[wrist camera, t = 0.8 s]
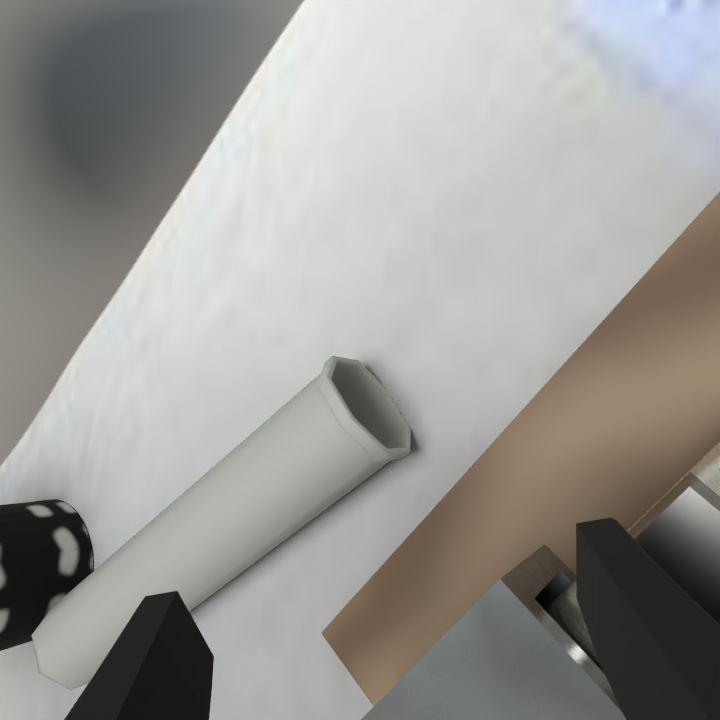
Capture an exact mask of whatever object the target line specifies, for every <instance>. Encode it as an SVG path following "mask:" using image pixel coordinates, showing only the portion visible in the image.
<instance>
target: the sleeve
mask: <svg viewBox="0 0 720 720" xmlns="http://www.w3.org/2000/svg"><path fill="white" fill-rule="evenodd" d="M575 581H576V575H575V574H574V573H573V572H572V571H571V570H570V569H569V568H568V567H567V566H566V565H565V564H564V563H563V562H562V561H561V560H560V559H559V558H558V557H557V556H556V555H555V554H554V553H553V552H552V551H551V550H550V549H549V548H548V547H547V546H546V545H545V544H544V545H543V546H542V547H540V548H539V549H538V550H536V551H535V552H534V553H533V554H531V555H530V556H529V557H527V558H526V559H525V560H524V561H522V562H521V563H520V564H518V565H517V566H516V567H515V568H513V569H512V570H511V571H509V572H508V573H507V574H506V575H504V576H503V577H502V578H501V579H499V580H498V581H497V582H496V583H495V584H494V585H493V586H492V587H491V589H490V590H489V591H488V592H487V593H486V594H485V595H484V596H483V597H482V598H481V599H480V600H479V601H478V602H477V603H476V604H475V605H474V606H473V607H472V608H471V609H470V610H469V611H468V612H467V613H466V614H465V615H464V616H463V617H462V618H461V619H460V620H459V621H458V622H457V623H456V624H455V625H454V626H453V627H452V628H451V629H450V630H449V631H448V632H447V633H446V634H445V635H444V636H443V637H442V638H441V639H440V640H439V641H438V642H437V643H436V644H435V645H434V646H433V647H432V648H431V649H430V650H429V651H428V652H427V653H426V654H425V655H424V656H423V657H422V658H421V659H420V660H419V662H418V663H417V664H416V665H415V666H414V667H413V668H412V669H411V670H410V671H409V672H408V673H407V674H406V675H405V676H404V677H403V678H402V679H401V680H400V681H399V682H398V683H397V684H396V685H395V686H394V687H393V688H392V689H391V690H390V691H389V692H388V693H387V694H386V695H385V696H384V697H383V698H382V699H381V700H380V701H379V702H378V703H377V704H376V705H375V706H374V707H373V708H372V709H371V710H370V711H369V712H368V713H367V714H366V715H365V716H364V717H363V718H362V719H361V720H626V718H625V716H624V714H623V712H622V710H621V708H620V706H619V703H618V701H617V699H616V697H615V695H614V693H613V691H612V688H611V686H610V684H609V682H608V680H607V678H606V675H605V674H604V673H603V672H602V671H601V670H600V669H599V668H598V667H597V665H596V664H595V663H594V662H593V661H592V660H591V659H590V658H589V657H588V656H587V655H586V654H585V653H584V652H583V650H582V649H581V648H580V647H579V646H578V645H577V644H576V643H575V642H574V641H573V640H572V639H571V638H570V636H569V635H568V634H567V633H566V632H565V631H564V630H563V629H562V628H561V627H560V626H559V625H558V624H557V623H556V621H555V620H554V619H553V618H552V617H551V616H550V615H549V614H548V613H547V612H546V611H545V610H546V609H547V608H548V607H549V606H550V605H551V604H552V603H553V602H554V601H555V600H556V599H557V598H558V597H559V596H560V595H561V594H562V593H563V592H564V591H565V590H566V589H567V588H568V587H569V586H570V585H571V584H572V583H573V582H575Z"/></svg>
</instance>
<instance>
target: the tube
mask: <svg viewBox="0 0 720 720" xmlns="http://www.w3.org/2000/svg"><path fill="white" fill-rule="evenodd" d="M410 449H411V428H410V426H409V425H408V423H407V422H406V420H405V418H404V417H403V415H402V414H401V412H400V410H399V409H398V407H397V406H396V404H395V402H394V401H393V399H392V398H391V396H390V395H389V393H388V391H387V390H386V388H385V387H384V386H383V385H382V384H381V383H380V382H379V381H378V380H377V379H376V378H375V377H374V376H373V375H372V374H371V373H370V372H369V371H368V370H367V369H366V368H365V367H364V366H363V365H362V364H361V363H360V362H359V361H358V360H353V359H347V358H341V357H336V356H332V357H331V358H330V359H329V360H328V361H327V362H325V364H324V367H323V370H322V372H321V374H320V375H319V376H317V377H316V378H315V379H314V380H313V381H312V382H310V383H309V384H308V385H307V386H306V387H305V388H304V389H302V390H301V391H300V392H299V393H298V394H297V395H296V396H294V397H293V398H292V399H291V400H290V401H289V402H287V403H286V404H285V405H284V406H283V407H282V408H281V409H279V410H278V411H277V412H276V413H275V414H274V415H273V416H271V417H270V418H269V419H268V420H267V421H266V422H265V423H263V424H262V425H261V426H260V427H259V428H258V429H256V430H255V431H254V432H253V433H252V434H251V435H250V436H248V437H247V438H246V439H245V440H244V441H243V442H242V443H240V444H239V445H238V446H237V447H236V448H235V449H233V450H232V451H231V452H230V453H229V454H228V455H227V456H225V457H224V458H223V459H222V460H221V461H220V462H219V463H217V464H216V465H215V466H214V467H213V468H212V469H210V470H209V471H208V472H207V473H206V474H205V475H204V476H202V477H201V478H200V479H199V480H198V481H197V482H196V483H194V484H193V485H192V486H191V487H190V488H189V489H187V490H186V491H185V492H184V493H183V494H182V495H181V496H179V497H178V498H177V499H176V500H175V501H174V502H173V503H171V504H170V505H169V506H168V507H167V508H166V509H165V510H163V511H162V512H161V513H160V514H159V515H158V516H156V517H155V518H154V519H153V520H152V521H151V522H150V523H148V524H147V525H146V526H145V527H144V528H143V529H142V530H140V531H139V532H138V533H137V534H136V535H135V536H133V537H132V538H131V539H130V540H129V541H128V542H127V543H125V544H124V545H123V546H122V547H121V548H120V549H119V550H117V551H116V552H115V553H114V554H113V555H112V556H110V557H109V558H108V559H107V560H106V561H105V562H104V563H102V564H101V565H100V566H99V567H98V568H97V569H96V570H94V571H93V572H92V573H91V574H90V575H89V576H87V577H86V578H85V579H84V580H83V581H82V582H81V583H79V584H78V585H77V586H76V587H75V588H74V589H73V590H71V591H70V592H69V593H68V594H67V595H66V596H65V597H63V598H62V599H61V600H60V601H59V602H58V603H56V604H55V605H54V606H53V607H52V608H51V609H50V611H49V612H48V613H47V615H46V616H45V618H44V619H43V620H42V622H41V623H40V624H39V626H38V627H37V628H36V630H35V631H34V633H33V634H32V635H31V636H32V639H33V642H34V645H35V652H36V659H37V666H38V673H39V674H41V675H43V676H45V677H47V678H49V679H51V680H53V681H54V682H56V683H58V684H60V685H62V686H64V687H66V688H68V689H70V690H73V689H75V688H78V687H80V686H82V685H85V684H87V683H89V682H90V681H91V679H92V678H93V676H94V674H95V673H96V671H97V670H98V668H99V667H100V665H101V664H102V662H103V660H104V659H105V657H106V656H107V654H108V653H109V651H110V650H111V648H112V646H113V645H114V643H115V642H116V640H117V639H118V637H119V636H120V634H121V632H122V631H123V629H124V628H125V626H126V625H127V623H128V621H129V620H130V618H131V617H132V615H133V614H134V612H135V611H136V609H137V608H138V606H139V605H140V603H141V602H142V600H143V599H144V597H145V596H149V595H155V594H161V593H167V592H173V591H178V593H179V595H180V596H181V598H182V600H183V602H184V604H185V605H186V607H187V609H188V611H191V610H192V609H193V608H195V607H196V606H197V605H199V604H200V603H201V602H203V601H204V600H205V599H207V598H208V597H209V596H211V595H212V594H213V593H215V592H216V591H217V590H219V589H220V588H221V587H223V586H224V585H225V584H227V583H228V582H229V581H231V580H232V579H233V578H235V577H236V576H237V575H239V574H240V573H241V572H243V571H244V570H245V569H247V568H248V567H249V566H251V565H252V564H253V563H255V562H256V561H257V560H259V559H260V558H261V557H263V556H264V555H265V554H267V553H268V552H269V551H271V550H272V549H273V548H275V547H276V546H277V545H279V544H280V543H281V542H283V541H284V540H285V539H287V538H288V537H289V536H291V535H292V534H293V533H295V532H296V531H297V530H299V529H300V528H301V527H303V526H304V525H305V524H307V523H308V522H309V521H311V520H312V519H313V518H315V517H316V516H317V515H319V514H320V513H321V512H323V511H324V510H325V509H327V508H328V507H329V506H331V505H332V504H333V503H335V502H336V501H337V500H339V499H340V498H341V497H343V496H344V495H345V494H347V493H348V492H349V491H351V490H352V489H353V488H355V487H356V486H357V485H359V484H360V483H361V482H363V481H364V480H365V479H367V478H368V477H369V476H371V475H372V474H373V473H375V472H376V471H377V470H379V469H380V468H381V467H383V466H384V465H385V464H387V463H388V462H389V461H391V460H396V459H402V458H404V457H405V456H407V455H408V454H409V453H410Z"/></svg>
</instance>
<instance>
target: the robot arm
mask: <svg viewBox="0 0 720 720" xmlns="http://www.w3.org/2000/svg"><path fill="white" fill-rule="evenodd" d="M576 596H577V601H578V604H579V607H580V610H581V613H582V616H583V619H584V621H585V624H586V627H587V630H588V633H589V636H590V639H591V641H592V644H593V647H594V650H595V652H596V655H597V658H598V660H599V662H600V665H601V667H602V669H603V671H604V673H605V675H606V678H607V680H608V682H609V684H610V686H611V688H612V691H613V693H614V695H615V697H616V699H617V701H618V703H619V706H620V708H621V710H622V712H623V714H624V716H625V718H626V720H720V624H719V623H718V622H717V621H716V620H715V619H714V618H713V617H712V616H711V615H710V614H708V613H707V612H706V611H705V610H704V609H703V608H702V607H701V606H700V605H699V604H698V603H697V602H696V601H695V600H694V599H692V598H691V597H690V596H689V595H688V594H687V593H686V592H685V591H684V590H683V589H682V588H681V587H680V586H679V585H678V584H677V583H676V582H675V581H674V580H673V579H672V578H671V577H670V576H669V575H668V574H667V573H666V572H665V571H664V570H663V569H662V568H661V567H660V566H659V565H658V564H657V563H656V562H655V561H654V560H653V559H652V558H651V557H650V555H649V554H648V553H647V552H646V551H645V550H644V549H643V548H642V547H641V546H640V545H639V544H638V543H637V542H636V541H635V540H634V539H633V537H632V536H631V535H630V534H629V533H628V532H627V531H626V530H625V529H624V528H623V527H622V525H621V524H620V523H619V522H618V521H617V520H615V519H613V518H612V517H611V518H605V519H599V520H593V521H587V522H581V523H576ZM213 660H214V656H213V654H212V653H211V651H210V649H209V647H208V645H207V643H206V642H205V640H204V638H203V636H202V634H201V633H200V631H199V629H198V627H197V625H196V624H195V622H194V620H193V618H192V616H191V614H190V613H189V611H188V609H187V607H186V605H185V604H184V602H183V600H182V598H181V596H180V595H179V593H178V591H173V592H167V593H161V594H155V595H149V596H145V597H144V599H143V600H142V602H141V603H140V605H139V606H138V608H137V609H136V611H135V612H134V614H133V615H132V617H131V618H130V620H129V621H128V623H127V625H126V626H125V628H124V629H123V631H122V632H121V634H120V636H119V637H118V639H117V640H116V642H115V643H114V645H113V646H112V648H111V650H110V651H109V653H108V654H107V656H106V657H105V659H104V660H103V662H102V664H101V665H100V667H99V668H98V670H97V671H96V673H95V674H94V676H93V678H92V679H91V681H90V682H89V684H88V685H87V687H86V688H85V690H84V691H83V693H82V694H81V696H80V697H79V699H78V700H77V702H76V703H75V705H74V706H73V708H72V709H71V711H70V712H69V714H68V715H67V716H66V718H65V719H64V720H209V712H210V701H211V690H212V675H213Z"/></svg>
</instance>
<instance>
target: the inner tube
mask: <svg viewBox="0 0 720 720" xmlns="http://www.w3.org/2000/svg"><path fill="white" fill-rule="evenodd" d="M627 532H628V533H629V534H630V535H631V536H632V537H633V539H634V540H635V541H636V542H637V543H638V544H639V545H640V546H641V547H642V548H643V549H644V550H645V551H646V552H647V553H648V554H649V555H650V557H651V558H652V559H653V560H654V561H655V562H656V563H657V564H658V565H659V566H660V567H661V568H662V569H663V570H664V571H665V572H666V573H667V574H668V575H669V576H670V577H671V578H672V579H673V580H674V581H675V582H676V583H677V584H678V585H679V586H680V587H681V588H682V589H683V590H684V591H685V592H686V593H687V594H688V595H689V596H690V597H691V598H692V599H694V600H695V601H696V602H697V603H698V604H699V605H700V606H701V607H702V608H703V609H704V610H705V611H706V612H707V613H708V614H710V615H711V616H712V617H713V618H714V619H715V620H716V621H717V622H718V623H719V624H720V442H718V443H717V444H716V445H715V446H714V447H713V448H712V449H711V450H710V451H709V452H708V453H707V454H706V455H705V456H704V457H703V458H702V459H701V460H700V461H699V462H698V463H697V464H696V465H695V466H694V467H693V468H692V469H691V470H689V471H688V472H687V473H686V474H685V475H684V476H683V477H682V478H681V479H680V480H679V481H678V482H677V483H676V484H675V485H674V486H673V487H672V488H671V489H670V490H669V491H668V492H667V493H666V494H665V495H664V496H663V497H662V498H660V499H659V500H658V501H657V502H656V503H655V504H654V505H653V506H652V507H651V508H650V509H649V510H648V511H647V512H646V513H645V514H644V515H643V516H642V517H641V518H640V519H639V520H638V521H637V522H636V523H635V524H634V525H633V526H631V527H630V528H629V529H628V530H627ZM545 611H546V612H547V613H548V614H549V615H550V616H551V617H552V618H553V619H554V620H555V621H556V623H557V624H558V625H559V626H560V627H561V628H562V629H563V630H564V631H565V632H566V633H567V634H568V635H569V636H570V638H571V639H572V640H573V641H574V642H575V643H576V644H577V645H578V646H579V647H580V648H581V649H582V650H583V652H584V653H585V654H586V655H587V656H588V657H589V658H590V659H591V660H592V661H593V662H594V663H595V664H596V665H597V667H598V668H599V669H600V670H601V671H602V672H603V673H604V671H603V669H602V667H601V665H600V662H599V660H598V658H597V655H596V652H595V650H594V647H593V644H592V641H591V639H590V636H589V633H588V630H587V627H586V624H585V621H584V619H583V616H582V613H581V610H580V607H579V604H578V601H577V596H576V581H575V582H573V583H572V584H571V585H570V586H569V587H568V588H567V589H566V590H565V591H564V592H563V593H562V594H561V595H560V596H559V597H558V598H557V599H556V600H555V601H554V602H553V603H552V604H551V605H550V606H549V607H548V608H547V609H546V610H545ZM604 674H605V673H604Z"/></svg>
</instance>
